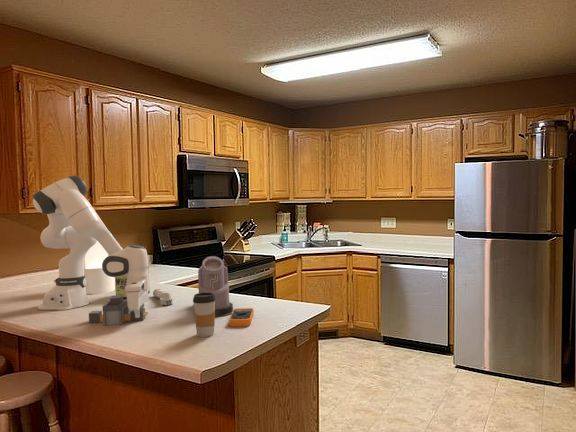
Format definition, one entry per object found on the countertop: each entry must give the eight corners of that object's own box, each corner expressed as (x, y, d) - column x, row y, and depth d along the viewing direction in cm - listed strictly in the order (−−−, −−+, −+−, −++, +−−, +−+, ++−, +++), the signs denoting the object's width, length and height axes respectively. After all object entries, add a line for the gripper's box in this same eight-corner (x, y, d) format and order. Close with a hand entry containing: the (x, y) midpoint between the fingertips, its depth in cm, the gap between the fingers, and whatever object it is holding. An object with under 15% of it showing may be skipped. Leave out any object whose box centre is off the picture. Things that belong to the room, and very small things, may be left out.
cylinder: (74, 293, 248) (71, 242, 247) (98, 286, 264) (96, 239, 263) (98, 294, 242) (96, 243, 240) (121, 288, 258) (119, 239, 256)
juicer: (235, 316, 192) (233, 259, 191) (197, 319, 188) (194, 261, 187) (228, 300, 221) (226, 250, 220) (195, 303, 218) (193, 252, 216)
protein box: (115, 299, 230) (113, 269, 229) (133, 292, 245) (132, 264, 244) (133, 300, 227) (131, 269, 226) (150, 293, 242) (149, 264, 241)
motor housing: (103, 325, 183) (102, 301, 182) (114, 315, 198) (113, 293, 197) (121, 324, 183) (119, 300, 183) (131, 315, 198) (129, 292, 198)
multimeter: (228, 328, 176) (228, 319, 176) (234, 315, 194) (234, 307, 194) (250, 327, 176) (250, 318, 176) (254, 315, 194) (253, 307, 194)
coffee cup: (195, 331, 171) (194, 292, 171) (217, 330, 172) (216, 291, 171) (192, 338, 163) (191, 297, 162) (216, 337, 164) (214, 296, 163)
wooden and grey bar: (88, 323, 187) (88, 313, 187) (92, 320, 192) (92, 310, 191) (146, 320, 189) (146, 310, 189) (149, 317, 194) (148, 308, 193)
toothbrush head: (161, 288, 236) (173, 289, 215) (162, 300, 236) (174, 304, 214) (151, 289, 234) (162, 291, 212) (152, 302, 233) (163, 305, 212)
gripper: (136, 278, 200) (138, 309, 201) (123, 288, 180) (125, 322, 181) (151, 278, 201) (152, 308, 202) (139, 287, 180) (141, 321, 181)
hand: (139, 315), depth 191 cm, fingers closed on wooden and grey bar, 4 cm apart
